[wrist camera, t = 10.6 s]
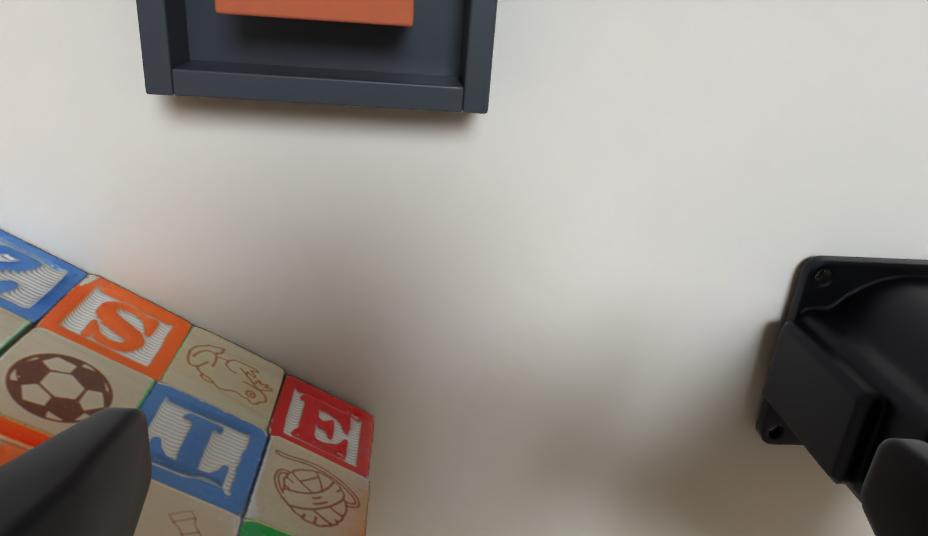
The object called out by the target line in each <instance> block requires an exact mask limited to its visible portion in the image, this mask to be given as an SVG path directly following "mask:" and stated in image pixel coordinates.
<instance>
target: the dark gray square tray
mask: <svg viewBox="0 0 928 536" xmlns="http://www.w3.org/2000/svg"><path fill="white" fill-rule="evenodd" d="M136 3H137V12H138V21H139V31H140V40H141V50H142V59H143V68H144V78H145V87H146V93H147V94H156V95H176V96H190V97H207V98H224V99H241V100H258V101H275V102H292V103H309V104H326V105H343V106H359V107H376V108H393V109H410V110H427V111H444V112H462V110H463V112H465V113H481V114H485V113H487V111H488V103H489V92H490V80H491V68H492V57H493V45H494V34H495V22H496V10H497V0H414V20H413V25H412V26H410V27H405V26H391V25H376V24H362V23H347V22H332V21H318V20H303V19H289V18H274V17H259V16H245V15H230V14H219V13H217V12H216V10H215V0H136Z"/></svg>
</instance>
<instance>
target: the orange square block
mask: <svg viewBox="0 0 928 536" xmlns="http://www.w3.org/2000/svg"><path fill="white" fill-rule="evenodd" d="M215 10H216V12H217V13H219V14H230V15H245V16H259V17H274V18H289V19H303V20H318V21H332V22H347V23H362V24H376V25H391V26H405V27H410V26H412V25H413V20H414V0H215Z"/></svg>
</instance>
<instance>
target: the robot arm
mask: <svg viewBox="0 0 928 536" xmlns="http://www.w3.org/2000/svg"><path fill="white" fill-rule="evenodd" d="M823 269H825V272H824V274H823V275H822V276H821V277H820V278H818V279H815V276H816V275H817V273H818V272H819V271H821V270H823ZM763 396H764V398H763V401H762V405H761V408H760V412H759V415H758V419H757V422H756V431H757V433H758V434H759V436H760V437H761V438H762V440H763V441H764V442H766V443H768V444H777V445H804V446H805V448H806V449H807V450H808V451H809V453H810V454H811V455H812V456H813V457H814V459H815V460H816V461H817V462H818V464H819V465H820V466H821V467H822V469H823V470H824V471H825V472H826V473H827V475H828V476H829V477H830V478H831V480H832V481H833V482H835V483H836V484H846V485H847V487H848V488H849V489H850V490H851V491H852V493H853V494H854V495H855V496H856V497H857V499H858V500H859V501H860V502H861V503H862V507H863V510H864V512H865V515H866V517H867V519H868V521H869V523H870V525H871V527H872V530H873V532H874V534H875V536H928V260H912V259H888V258H864V257H839V256H816V257H813V258H811V259H809V260H808V261H807V262H806V263H805V264H804V265H803V267H802V269H801V271H800V274H799V277H798V281H797V284H796V288H795V291H794V295H793V298H792V302H791V305H790V308H789V312H788V315H787V319H786V322H785V324H784V325H783V327H782V328H781V331H780V334H779V338H778V341H777V345H776V348H775V352H774V355H773V359H772V362H771V365H770V369H769V372H768V376H767V379H766V383H765V386H764V390H763ZM774 426H777V427H776V428H775V429H773V430H770V429H771V428H772V427H774ZM769 430H770V431H769ZM151 475H152V462H151V453H150V443H149V434H148V424H147V418H146V416H145V413H144V412H143V411H142V410H141V409H138V408H118V407H107V408H104V409H101V410H99V411H98V412H96V413H94V414H92V415H91V416H89V417H87V418H85V419H83V420H82V421H80V422H78V423H76V424H75V425H73V426H71V427H69V428H67V429H66V430H64V431H62V432H60V433H59V434H57V435H55V436H53V437H51V438H50V439H48V440H46V441H44V442H43V443H41V444H39V445H37V446H36V447H34V448H32V449H30V450H28V451H27V452H25V453H23V454H21V455H20V456H18V457H16V458H14V459H12V460H11V461H9V462H7V463H5V464H4V465H2V466H0V536H134V533H135V530H136V526H137V523H138V520H139V517H140V514H141V511H142V508H143V505H144V502H145V499H146V496H147V493H148V490H149V486H150V482H151Z"/></svg>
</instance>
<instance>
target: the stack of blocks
mask: <svg viewBox="0 0 928 536" xmlns="http://www.w3.org/2000/svg"><path fill="white" fill-rule="evenodd" d="M107 407H118V408H138V409H141V410H142V411H143V412H144V413H145V416H146V418H147V424H148V434H149V443H150V453H151V462H152V475H151V482H150V486H149V490H148V493H147V496H146V499H145V502H144V505H143V508H142V511H141V514H140V517H139V520H138V523H137V526H136V530H135V533H134V536H366V524H367V511H368V501H369V492H370V481H368V480H367V478H368V474H369V469H370V457H371V451H372V441H373V429H374V418H373V415H371V414H369V413H368V412H366V411H364V410H361V409H359V408H357V407H355V406H353V405H351V404H349V403H347V402H344V401H342V400H340V399H338V398H336V397H334V396H332V395H330V394H328V393H326V392H323V391H321V390H319V389H317V388H315V387H313V386H311V385H309V384H307V383H304V382H302V381H300V380H298V379H297V378H295V377H293V376H287V375H285V374H284V371H283V369H282V368H281V367H279V366H277V365H275V364H273V363H271V362H269V361H267V360H265V359H263V358H261V357H259V356H257V355H255V354H253V353H251V352H249V351H247V350H245V349H243V348H241V347H239V346H237V345H235V344H233V343H231V342H229V341H227V340H225V339H223V338H221V337H219V336H217V335H215V334H213V333H211V332H208V331H206V330H204V329H201V328H198V327H194V326H192V325H191V324H190V323H189V322H187V321H186V320H184V319H182V318H180V317H178V316H177V315H175V314H173V313H171V312H169V311H167V310H165V309H163V308H161V307H159V306H157V305H155V304H153V303H151V302H149V301H147V300H145V299H143V298H141V297H139V296H137V295H136V294H134V293H132V292H130V291H128V290H126V289H124V288H122V287H120V286H117V285H115V284H113V283H111V282H109V281H107V280H105V279H104V278H102V277H100V276H97V275H87V274H86V273H85V272H83V271H82V270H80V269H78V268H76V267H75V266H73V265H71V264H69V263H67V262H64V261H62V260H60V259H58V258H56V257H54V256H52V255H50V254H48V253H46V252H44V251H42V250H40V249H38V248H36V247H34V246H32V245H30V244H28V243H26V242H23V241H22V240H20V239H18V238H16V237H14V236H12V235H10V234H8V233H6V232H4V231H2V230H0V466H2V465H4V464H5V463H7V462H9V461H11V460H12V459H14V458H16V457H18V456H20V455H21V454H23V453H25V452H27V451H28V450H30V449H32V448H34V447H36V446H37V445H39V444H41V443H43V442H44V441H46V440H48V439H50V438H51V437H53V436H55V435H57V434H59V433H60V432H62V431H64V430H66V429H67V428H69V427H71V426H73V425H75V424H76V423H78V422H80V421H82V420H83V419H85V418H87V417H89V416H91V415H92V414H94V413H96V412H98V411H99V410H101V409H104V408H107Z"/></svg>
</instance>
